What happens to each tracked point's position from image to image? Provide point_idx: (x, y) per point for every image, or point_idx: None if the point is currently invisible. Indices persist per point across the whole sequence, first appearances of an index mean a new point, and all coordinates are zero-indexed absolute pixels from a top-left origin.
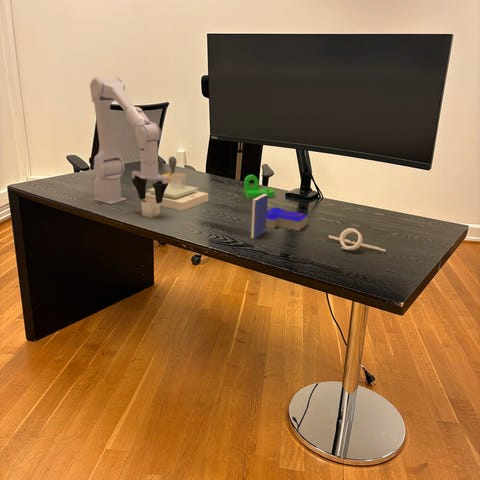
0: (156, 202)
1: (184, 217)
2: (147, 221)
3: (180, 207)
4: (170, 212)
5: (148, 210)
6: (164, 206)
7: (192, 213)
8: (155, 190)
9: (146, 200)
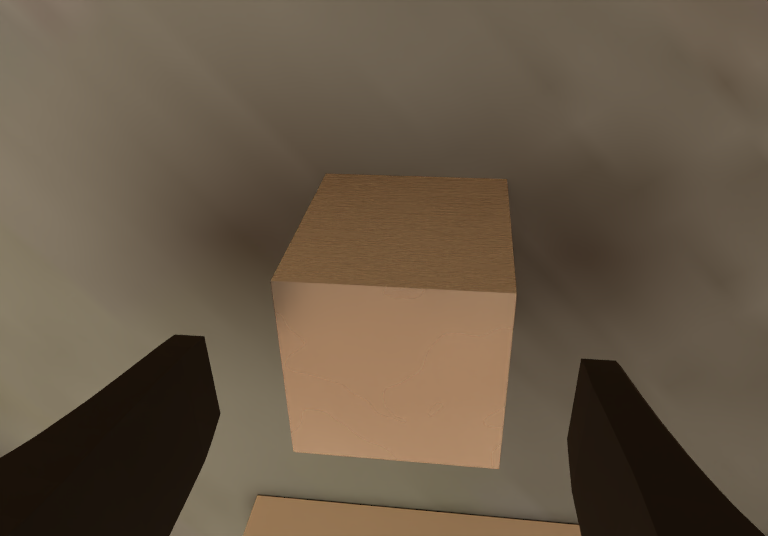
0: (190, 340)
1: (84, 377)
2: (250, 22)
3: (264, 526)
4: None
5: (360, 219)
6: (490, 519)
7: None
8: (2, 505)
9: (485, 382)
